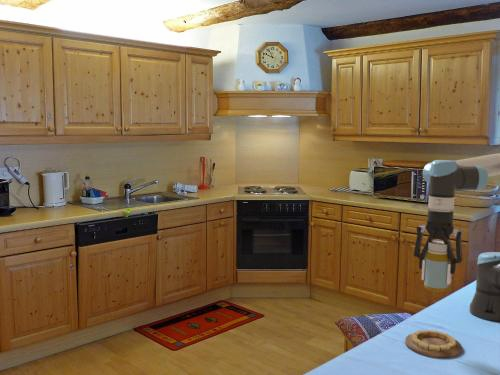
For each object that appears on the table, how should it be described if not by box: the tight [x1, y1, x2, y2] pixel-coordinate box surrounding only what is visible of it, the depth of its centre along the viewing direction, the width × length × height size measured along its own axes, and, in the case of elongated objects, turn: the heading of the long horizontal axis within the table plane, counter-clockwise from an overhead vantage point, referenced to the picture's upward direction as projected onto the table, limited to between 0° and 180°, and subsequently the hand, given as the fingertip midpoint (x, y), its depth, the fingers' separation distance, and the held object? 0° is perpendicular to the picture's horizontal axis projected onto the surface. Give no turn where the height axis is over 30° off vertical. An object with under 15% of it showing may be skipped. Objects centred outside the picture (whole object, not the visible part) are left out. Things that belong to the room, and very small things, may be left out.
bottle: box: [423, 240, 450, 293], centre depth 166 cm, size 7×7×15 cm
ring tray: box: [404, 329, 463, 359], centre depth 168 cm, size 17×17×2 cm
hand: (436, 281), depth 167 cm, fingers closed on bottle, 7 cm apart
